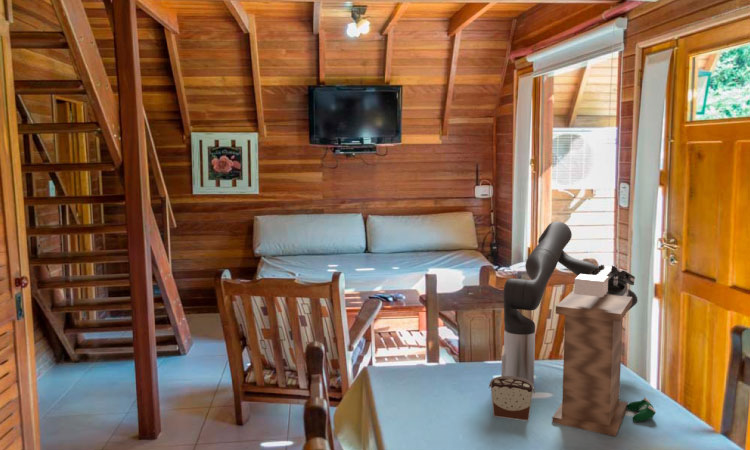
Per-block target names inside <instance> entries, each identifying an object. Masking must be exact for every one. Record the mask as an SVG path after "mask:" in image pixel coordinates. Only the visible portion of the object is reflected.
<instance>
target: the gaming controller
mask: <svg viewBox="0 0 750 450" xmlns="http://www.w3.org/2000/svg"><path fill="white" fill-rule="evenodd" d="M627 410H628V411H638V412H637V413H635V414H634V415H633V416H632V421H633V422H635V423H637V422H638V423H639V422H644V421H647V420H649V419H652V418H654V416H655V414H656V413H657V412H656V409H655V408H654V406H653V404H652V403H651V401H650V400H649V399H648V398H647V397H644V398H643V399H642V400H638V401H632V402H628V405H627Z"/></svg>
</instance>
